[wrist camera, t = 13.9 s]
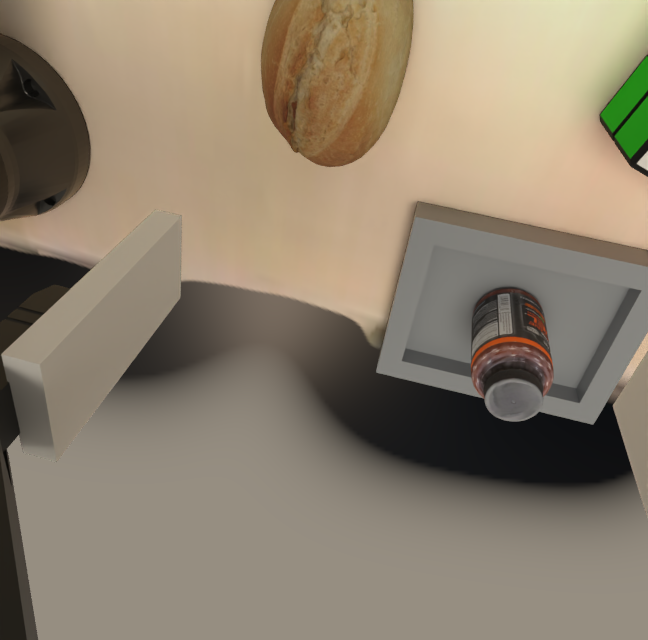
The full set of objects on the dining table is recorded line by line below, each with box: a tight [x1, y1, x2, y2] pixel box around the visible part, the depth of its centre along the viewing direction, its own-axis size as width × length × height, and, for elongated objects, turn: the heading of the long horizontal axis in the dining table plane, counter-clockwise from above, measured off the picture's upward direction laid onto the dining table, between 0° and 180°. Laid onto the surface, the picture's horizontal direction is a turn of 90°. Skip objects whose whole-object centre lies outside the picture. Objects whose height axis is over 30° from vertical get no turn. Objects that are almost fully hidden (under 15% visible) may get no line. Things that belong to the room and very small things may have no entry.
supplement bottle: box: [471, 288, 554, 421], centre depth 45 cm, size 6×6×11 cm
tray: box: [376, 202, 648, 424], centre depth 50 cm, size 20×16×3 cm
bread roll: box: [261, 0, 413, 167], centre depth 39 cm, size 10×15×8 cm, turn 170°
